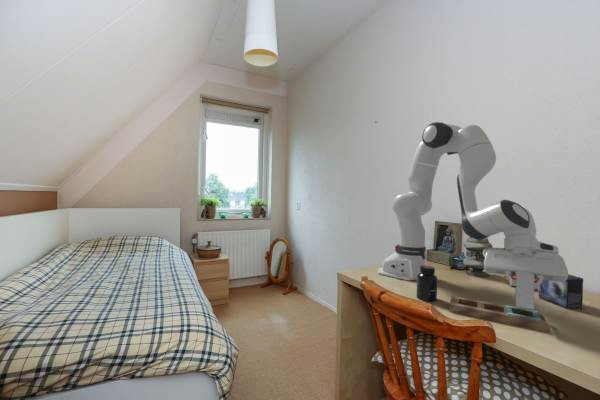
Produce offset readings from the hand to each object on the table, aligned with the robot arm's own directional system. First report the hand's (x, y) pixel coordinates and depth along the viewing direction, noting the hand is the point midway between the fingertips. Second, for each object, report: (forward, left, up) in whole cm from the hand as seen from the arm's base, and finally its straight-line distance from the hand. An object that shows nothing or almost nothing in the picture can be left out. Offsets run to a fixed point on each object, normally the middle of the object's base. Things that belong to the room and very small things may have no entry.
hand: (524, 288), depth 83 cm
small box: (+13, +29, -11) cm, 33 cm away
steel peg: (0, +1, -5) cm, 5 cm away
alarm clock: (+6, +45, -11) cm, 47 cm away
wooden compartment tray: (-7, +1, -11) cm, 13 cm away
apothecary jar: (-12, +55, -11) cm, 57 cm away
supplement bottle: (-27, +5, -11) cm, 30 cm away
